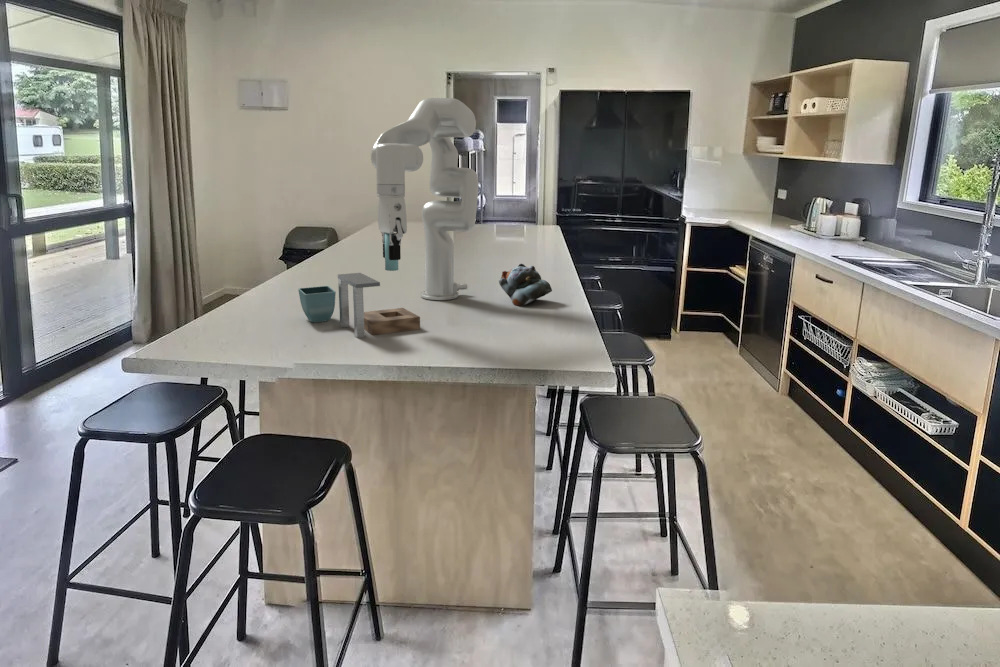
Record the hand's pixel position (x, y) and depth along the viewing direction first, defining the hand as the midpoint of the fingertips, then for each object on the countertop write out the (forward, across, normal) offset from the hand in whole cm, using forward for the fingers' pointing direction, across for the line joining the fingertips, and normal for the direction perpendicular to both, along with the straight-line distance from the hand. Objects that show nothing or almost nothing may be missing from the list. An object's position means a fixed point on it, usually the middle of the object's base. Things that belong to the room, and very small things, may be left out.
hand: (391, 258), depth 197 cm
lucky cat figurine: (+18, +8, -49) cm, 53 cm away
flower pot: (+19, +14, +17) cm, 29 cm away
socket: (+19, -2, +2) cm, 19 cm away
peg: (+3, 0, 0) cm, 3 cm away
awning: (+19, -2, +10) cm, 22 cm away
